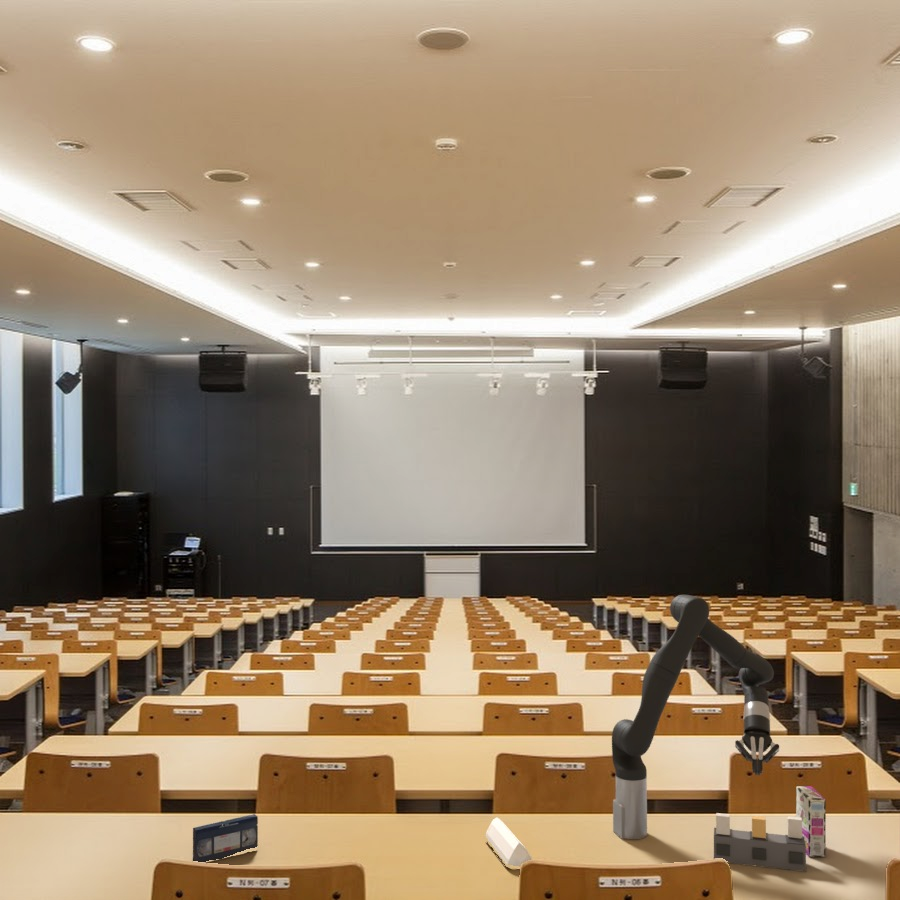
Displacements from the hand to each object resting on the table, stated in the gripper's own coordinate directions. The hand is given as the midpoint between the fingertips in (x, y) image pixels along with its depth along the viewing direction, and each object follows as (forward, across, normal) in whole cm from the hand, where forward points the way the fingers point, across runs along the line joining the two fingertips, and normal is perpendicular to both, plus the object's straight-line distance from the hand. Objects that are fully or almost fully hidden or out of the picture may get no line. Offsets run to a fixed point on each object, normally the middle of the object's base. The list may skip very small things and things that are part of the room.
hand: (757, 773), depth 271 cm
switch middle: (+18, 0, +1) cm, 18 cm away
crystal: (+33, -68, -2) cm, 76 cm away
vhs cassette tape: (+51, -144, -18) cm, 154 cm away
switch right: (+16, +10, +3) cm, 19 cm away
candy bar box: (+13, +15, +17) cm, 26 cm away
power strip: (+22, 0, +7) cm, 24 cm away
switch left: (+18, -9, +1) cm, 21 cm away
